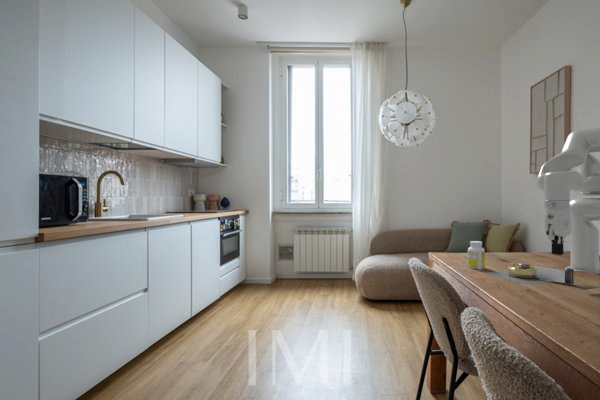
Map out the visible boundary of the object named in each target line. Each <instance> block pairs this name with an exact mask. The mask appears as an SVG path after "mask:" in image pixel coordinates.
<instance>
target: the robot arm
mask: <svg viewBox="0 0 600 400" xmlns="http://www.w3.org/2000/svg"><path fill="white" fill-rule="evenodd" d="M592 153H600V127H593V128H584V129H578V130H575V131H572V132H570V133H569V134H568V136H567V138H566V140H565V143H564V144H563V147H562V150H561V152H560V153H558V154H556V155H555V156H553V157H552V158H551V159H550V158H549V160H547V161H546V162H545V163H543V165H542V166H541V167H540V169H539V170H540V171H539V172H538V174H537V178H536V185H537V188H538V189H539V190H540V191H544V194H543V195H544V197H543V198H544V209H545V213H544V214H545V215H544V217H545V218H544V233H545V235H546V236H548V240H549V241H550V243H551V254H552V255H556V256H562V255H564V244H565V238H566V237H567V236H569V235H570V265H568V266H566V267H565V268H571V269H574V271H578V272H582V273H588V274H593V275H600V231H599V229H598V227H597V226H596V225H595V224H594V223H593V222H592V221H600V160H599V159H598V158H597V157H596V156H594V155H593V154H592ZM574 168H576V169H575V171H574V170H569V169H574ZM572 191H573V192H575V194H577V195H579V196H584V197H579V198H574V199H572V200H570V198H571V197H570V195H571V194H570V193H571V192H572Z"/></svg>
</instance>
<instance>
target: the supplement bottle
mask: <svg viewBox="0 0 600 400" xmlns="http://www.w3.org/2000/svg"><path fill="white" fill-rule="evenodd" d="M469 245H470V247H468V248H467V269H472V270H485V269H486V259H485V258H486V256H485V255H486V250H485V248H484V247H482V246H483V241H479V240H477V241H476V240H470V241H469Z"/></svg>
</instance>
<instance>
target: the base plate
mask: <svg viewBox="0 0 600 400" xmlns="http://www.w3.org/2000/svg"><path fill="white" fill-rule="evenodd" d="M482 273H483V274H485V275H490V276H492V277H493V276H494V277H498V278H501V279H505V280H508V281H511V282H515V283H518V284H519V283H520V284H523V285H532V284H544V283H545V284H547V283H558V282H557V281H551V280H546V279H540V278H537V279H525V278H517V277H512V276H510V275H508V270H500V271H486V272H485V271H484V272H482Z"/></svg>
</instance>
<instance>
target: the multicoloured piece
mask: <svg viewBox="0 0 600 400" xmlns="http://www.w3.org/2000/svg"><path fill="white" fill-rule="evenodd" d="M507 271H508V275H510V276H512V277H517V278H525V279H537V278H540V279H546V280H551V281H557V282H556V283H562V284H568V285H574V284H575V270H574V269H571V268H566V267H565V268H564V267H563V270H562V269H556V268H551V267H544V266H537V265H534V266H533V263H529V262H528V263H525V262H518V263H517V265H516V263H515V262H509V263H508V270H507Z"/></svg>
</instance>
